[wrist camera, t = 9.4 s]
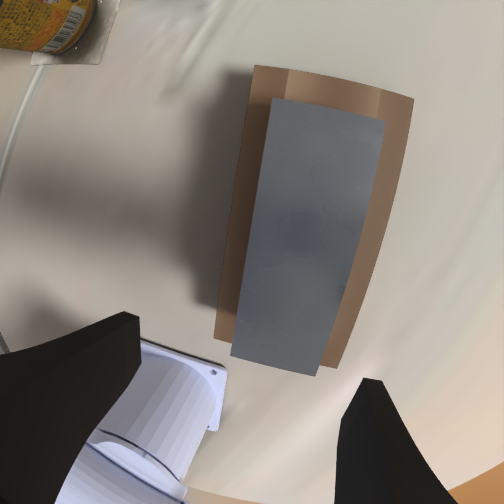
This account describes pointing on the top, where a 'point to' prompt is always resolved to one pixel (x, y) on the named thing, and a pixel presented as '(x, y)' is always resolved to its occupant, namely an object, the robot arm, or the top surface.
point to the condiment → (57, 29)
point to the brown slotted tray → (248, 171)
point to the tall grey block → (304, 232)
